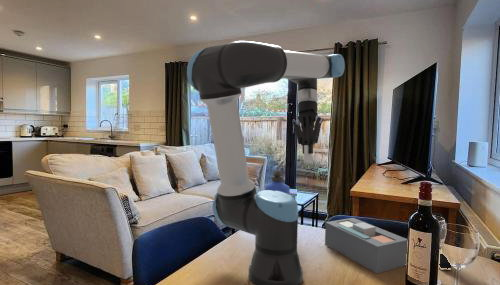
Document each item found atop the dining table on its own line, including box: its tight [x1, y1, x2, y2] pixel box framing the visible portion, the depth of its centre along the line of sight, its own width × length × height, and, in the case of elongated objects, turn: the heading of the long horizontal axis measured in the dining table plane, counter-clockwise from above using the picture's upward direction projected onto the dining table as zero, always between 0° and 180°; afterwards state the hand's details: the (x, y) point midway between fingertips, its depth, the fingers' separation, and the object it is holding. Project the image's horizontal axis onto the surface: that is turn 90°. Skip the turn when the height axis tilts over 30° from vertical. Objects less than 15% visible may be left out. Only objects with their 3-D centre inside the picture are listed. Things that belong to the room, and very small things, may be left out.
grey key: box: [353, 221, 377, 237], centre depth 99 cm, size 5×5×3 cm
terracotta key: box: [371, 235, 394, 243], centre depth 92 cm, size 5×5×3 cm
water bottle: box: [264, 170, 291, 195], centre depth 114 cm, size 9×9×25 cm
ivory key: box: [339, 221, 354, 229], centre depth 106 cm, size 5×5×3 cm
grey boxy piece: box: [324, 217, 407, 274], centre depth 99 cm, size 23×13×8 cm, turn 25°
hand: (307, 162), depth 113 cm, fingers closed
